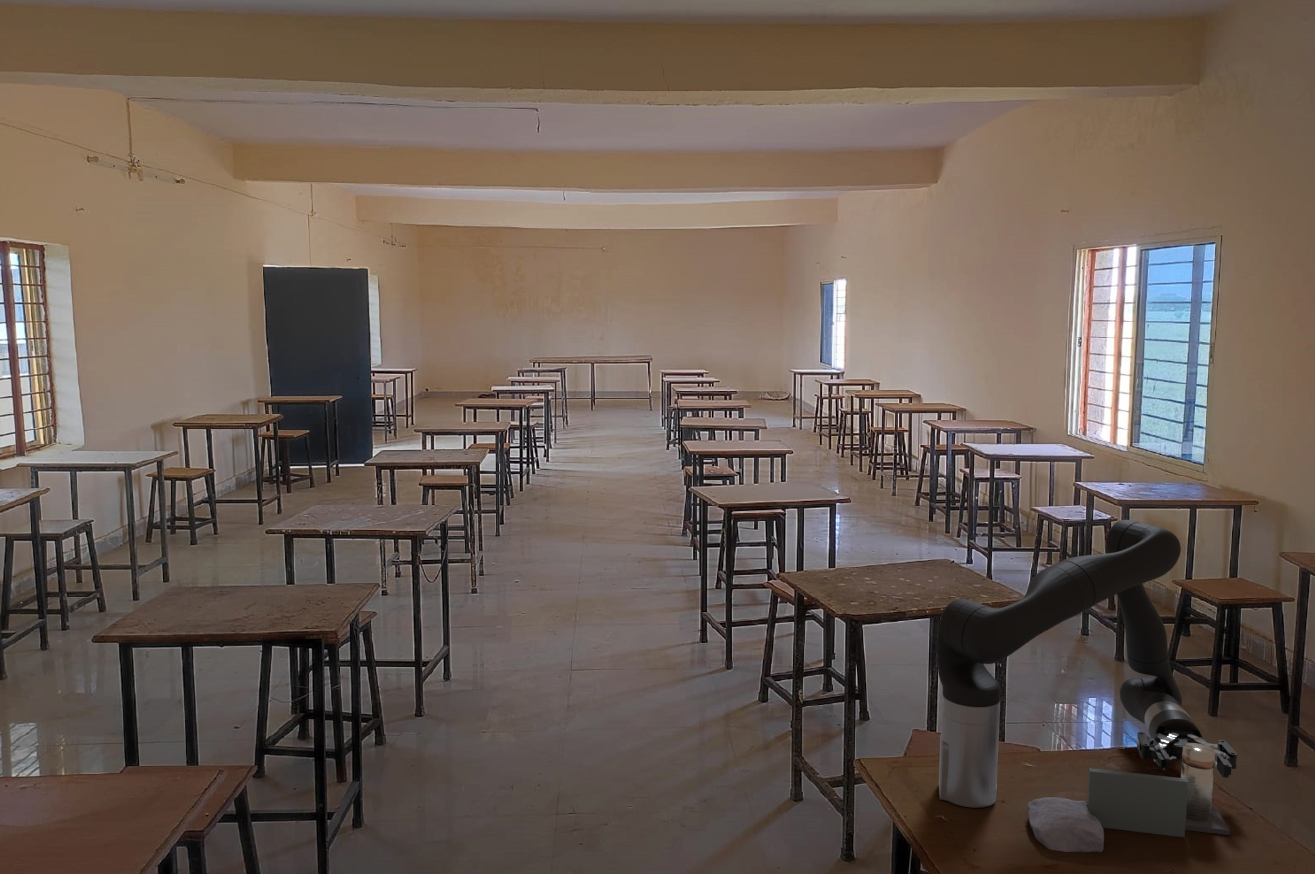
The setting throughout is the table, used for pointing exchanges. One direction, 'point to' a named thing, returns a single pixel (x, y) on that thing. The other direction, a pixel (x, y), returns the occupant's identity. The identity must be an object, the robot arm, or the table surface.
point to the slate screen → (1138, 802)
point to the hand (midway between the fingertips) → (1196, 768)
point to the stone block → (1065, 825)
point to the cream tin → (1198, 779)
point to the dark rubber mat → (1209, 824)
